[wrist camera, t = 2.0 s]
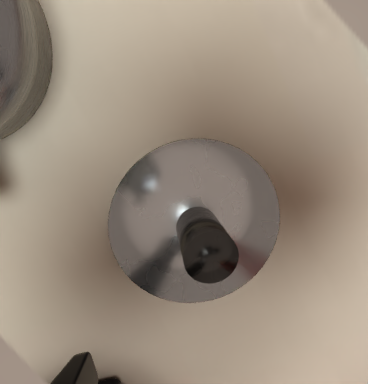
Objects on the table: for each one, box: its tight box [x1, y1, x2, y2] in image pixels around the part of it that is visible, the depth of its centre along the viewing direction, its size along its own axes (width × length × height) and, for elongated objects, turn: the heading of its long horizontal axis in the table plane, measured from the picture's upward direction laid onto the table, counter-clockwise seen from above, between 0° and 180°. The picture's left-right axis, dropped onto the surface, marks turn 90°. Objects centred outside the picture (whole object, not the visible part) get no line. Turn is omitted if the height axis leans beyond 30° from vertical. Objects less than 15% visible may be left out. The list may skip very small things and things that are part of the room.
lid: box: [108, 139, 280, 303], centre depth 14 cm, size 11×11×5 cm
